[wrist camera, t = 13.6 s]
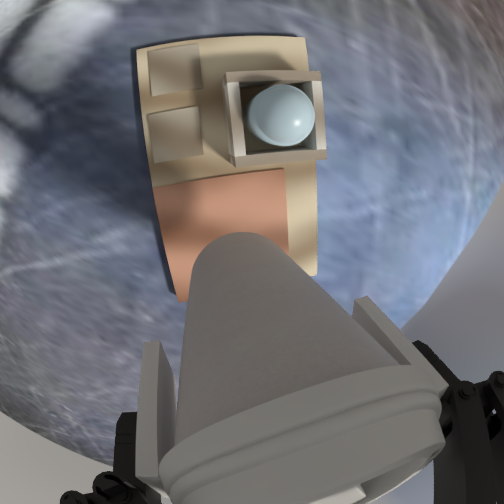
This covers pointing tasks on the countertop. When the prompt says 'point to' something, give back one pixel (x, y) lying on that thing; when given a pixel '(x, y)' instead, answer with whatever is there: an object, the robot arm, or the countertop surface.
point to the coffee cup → (288, 391)
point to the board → (227, 147)
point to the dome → (280, 115)
